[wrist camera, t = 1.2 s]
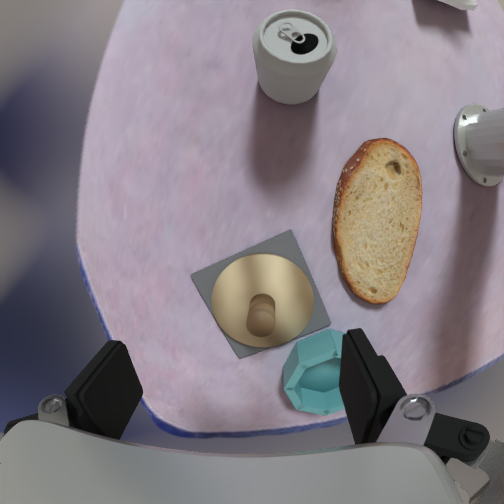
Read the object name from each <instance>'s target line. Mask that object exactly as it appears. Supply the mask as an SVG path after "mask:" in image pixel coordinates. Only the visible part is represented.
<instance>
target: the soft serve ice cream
mask: <svg viewBox="0 0 504 504" xmlns="http://www.w3.org/2000/svg"><path fill="white" fill-rule="evenodd" d="M438 1H441V2H443V3H446V4H448V5H451V6H453V7H456V8H458V9H460V10H474V9H475V8H476V7H477V6H478V4H477V2H476V1H475V0H438Z"/></svg>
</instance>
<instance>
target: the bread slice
mask: <svg viewBox="0 0 504 504" xmlns="http://www.w3.org/2000/svg"><path fill="white" fill-rule="evenodd" d="M421 209H422V185H421V176H420V171H419V168H418V165H417V163H416V161H415V159H414V158H413V156H412V155H411V153H410V152H409V151H408V150H407V149H406V148H405V147H403V146H402V145H401V144H399V143H397V142H395V141H393V140H391V139H388V138H379V139H372V140H368V141H366V142H364V143H363V144H362V145H361V146H360V147H359V149H358V150H357V151H356V152H355V154H354V155H353V156H352V157H351V158H350V159H349V160H348V161H347V163H346V164H345V166H344V168H343V171H342V173H341V176H340V179H339V181H338V184H337V189H336V194H335V201H334V208H333V218H332V225H333V233H334V237H335V242H334V249H335V253H336V259H337V262H338V265H339V268H340V272H341V275H342V277H343V279H344V280H345V282H346V283H347V285H348V287H349V288H350V289H351V291H352V292H353V293H354V294H355V295H356V296H357V297H359V298H360V299H362V300H364V301H366V302H368V303H371V304H383V303H387V302H389V301H391V300H392V299H393V298H394V297H395V296H396V295H397V294H398V292H399V290H400V288H401V286H402V283H403V281H404V280H405V277H406V274H407V269H408V268H409V265H410V261H411V258H412V255H413V250H414V247H415V243H416V239H417V235H418V228H419V223H420V217H421Z"/></svg>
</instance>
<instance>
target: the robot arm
mask: <svg viewBox="0 0 504 504" xmlns="http://www.w3.org/2000/svg"><path fill="white" fill-rule="evenodd" d="M454 137H455V145H456V150H457V153H458V157H459V159H460V162H461V164H462V166H463V168H464V169H465V171H466V173H467V174H468V175H469V177H470V178H471V179H472V180H474V181H475V182H476V183H478V184H480V185H483V186H494V185H496V184H498V183H499V182H500V181H501V180H502V179H503V177H504V108H501V109H496V110H492V111H489V110H488V109H487V108H485V107H484V106H481V105H478V104H471V105H467V106H465V107H464V108H462V109H461V110H460V112H459V113H458V115H457V118H456V121H455V127H454ZM339 391H340V394H341V397H342V401H343V404H344V407H345V411H346V414H347V417H348V421H349V424H350V427H351V431H352V434H353V438H354V441H355V445H349V446H341V447H334V448H326V449H318V450H310V451H299V452H287V453H269V454H222V453H221V454H220V453H203V452H192V451H181V450H173V449H165V448H159V447H152V446H147V445H141V444H136V443H131V442H126V441H122V440H119V439H120V438H121V436H122V434H123V432H124V430H125V427H126V426H127V424H128V422H129V420H130V418H131V416H132V414H133V412H134V411H135V409H136V407H137V405H138V403H139V401H140V399H141V397H142V395H143V389H142V386H141V384H140V381H139V379H138V376H137V374H136V371H135V369H134V366H133V364H132V361H131V358H130V356H129V353H128V350H127V347H126V345H125V344H123V343H122V342H121V341H116V340H109V341H108V342H107V343H106V344H105V345H104V346H103V347H102V349H101V350H100V351H99V352H98V353H97V354H96V355H95V356H94V358H93V359H92V360H91V361H90V362H89V363H88V365H87V366H86V367H85V368H84V369H83V370H82V371H81V373H80V374H79V375H78V376H77V377H76V379H75V380H74V381H73V382H72V383H71V384H70V386H69V387H68V388H67V389H66V390H65V392H64V393H65V394H66V396H67V398H66V399H64V398H63V397H62V396H60V395H51V396H48V397H46V398H45V399H44V400H42V401H41V403H40V405H39V408H38V413H36V414H33V415H30V416H27V417H23V418H20V419H16V420H13V421H10V422H9V423H8V424H7V426H6V428H5V430H4V434H3V433H0V504H464V502H463V500H462V497H461V495H460V493H459V490H458V488H457V486H456V484H455V482H454V481H456V482H458V483H459V484H461V486H460V488H462V489H464V490H465V491H466V492H467V493H468V494H469V498H470V500H469V504H504V443H503V442H502V441H500V440H498V439H496V440H495V441H492V440H490V435H489V432H488V430H487V429H486V428H485V427H484V426H483V425H481V424H478V423H474V422H470V421H466V420H462V419H458V418H454V417H450V416H446V415H443V414H439V413H435V410H436V407H435V404H434V402H433V401H432V399H430V398H429V397H427V396H425V395H422V394H409V395H407V394H406V392H405V390H404V389H403V387H402V385H401V383H400V382H399V380H398V378H397V376H396V375H395V373H394V371H393V370H392V368H391V366H390V365H389V363H388V361H387V360H386V358H385V357H384V356H383V355H381V356H377V354H376V352H375V350H374V349H373V347H372V345H371V344H370V342H369V340H368V338H367V337H366V335H365V333H364V332H363V330H362V329H361V328H358V329H351V330H348V331H347V334H343V336H342V350H341V364H340V375H339Z"/></svg>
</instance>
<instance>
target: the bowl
mask: <svg viewBox="0 0 504 504" xmlns="http://www.w3.org/2000/svg"><path fill="white" fill-rule="evenodd" d="M343 334H345V333H342V332H339V331H335V330H332V329H328V330H325V331H323V332H320V333H318V334H315V335H313V336H310V337H308V338H305V339H303V340H300V341H298V342H296V344H295V346H294V348H293V350H292V351H291V353H290V355H289V357H288V359H287V361H286V363H285V364H284V366H283V379H284V390H285V392H286V394H287V395H288V397H289V399H290V400H291V402H292V404H293V405H294V407H295V408H296V410H299V411H304V412H309V413H315V414H320V415H329V414H332V413H335V412H338V411H340V410H343V409H345V407H344V404H343V401H342V397H341V394H340V391H339V375H340V364H341V350H342V336H343Z"/></svg>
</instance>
